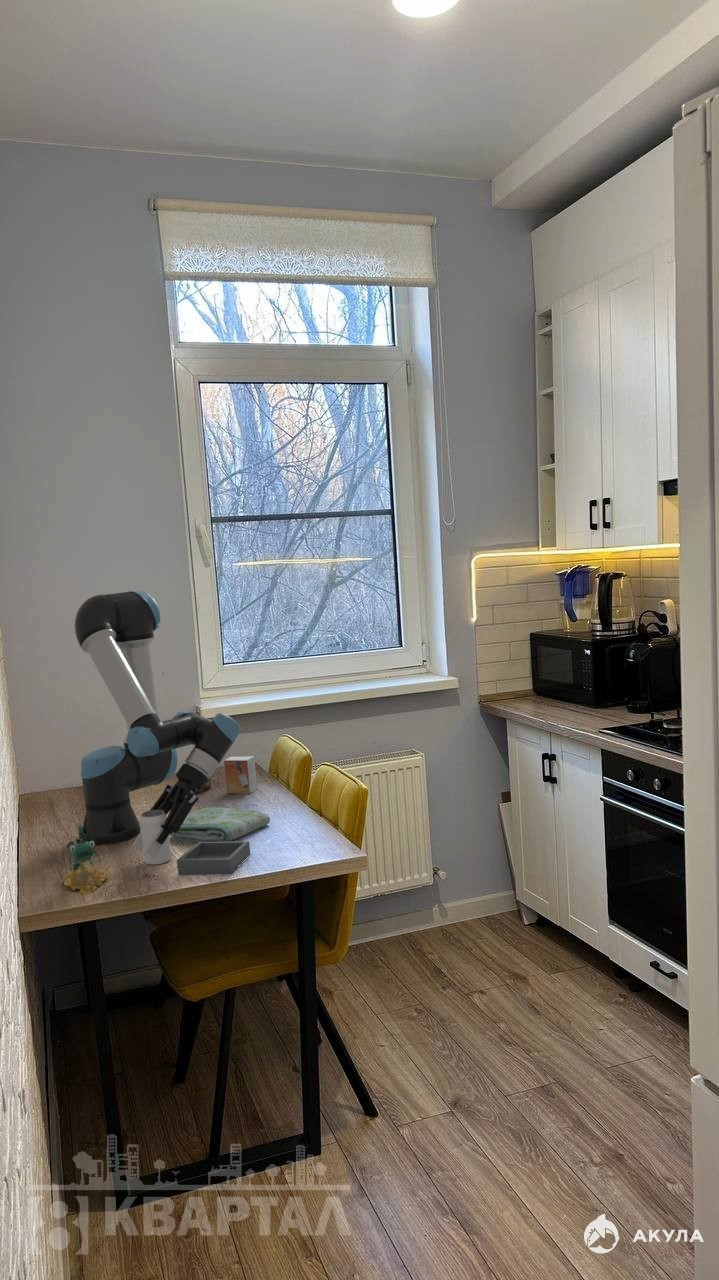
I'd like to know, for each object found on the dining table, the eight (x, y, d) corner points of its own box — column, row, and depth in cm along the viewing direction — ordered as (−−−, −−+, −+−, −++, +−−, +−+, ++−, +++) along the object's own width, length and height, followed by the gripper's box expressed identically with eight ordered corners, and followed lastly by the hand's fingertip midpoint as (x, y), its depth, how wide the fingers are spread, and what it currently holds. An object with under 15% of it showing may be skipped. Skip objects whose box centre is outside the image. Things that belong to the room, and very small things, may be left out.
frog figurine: (105, 866, 225) (100, 809, 222) (110, 899, 208) (104, 837, 205) (64, 873, 222) (58, 815, 219) (65, 907, 205) (59, 844, 202)
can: (176, 856, 228) (170, 808, 226) (164, 865, 221) (159, 816, 220) (151, 856, 229) (146, 809, 228) (140, 865, 223) (134, 817, 222)
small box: (226, 794, 284) (223, 760, 283) (234, 789, 289) (230, 756, 288) (250, 793, 282) (247, 760, 281) (257, 788, 287) (254, 755, 286)
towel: (211, 820, 258) (209, 802, 258) (271, 826, 247) (270, 807, 247) (165, 840, 243) (163, 821, 243) (227, 848, 232) (225, 828, 231)
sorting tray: (178, 874, 214) (176, 860, 213) (200, 855, 226) (198, 841, 226) (231, 874, 211) (229, 859, 210) (250, 855, 223) (249, 841, 223)
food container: (211, 793, 286) (207, 761, 285) (191, 795, 286) (187, 763, 285) (217, 783, 299) (214, 752, 298) (198, 784, 299) (195, 754, 298)
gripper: (226, 784, 225) (171, 867, 217) (189, 773, 240) (137, 850, 232) (204, 767, 221) (148, 851, 213) (168, 757, 237) (115, 835, 229)
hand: (143, 851), depth 223 cm, fingers closed on can, 6 cm apart
